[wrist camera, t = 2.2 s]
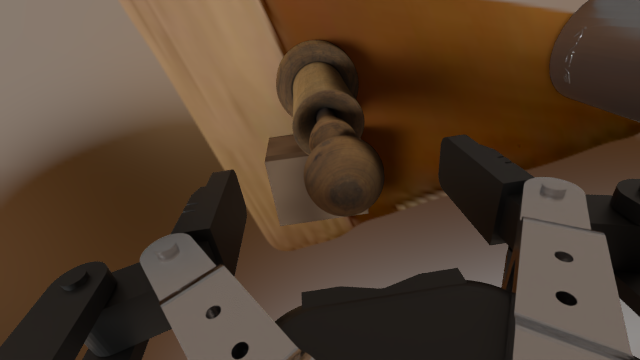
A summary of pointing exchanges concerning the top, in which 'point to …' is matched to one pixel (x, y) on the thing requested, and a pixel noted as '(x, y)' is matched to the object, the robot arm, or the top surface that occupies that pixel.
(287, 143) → the walnut stand
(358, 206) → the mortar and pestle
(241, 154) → the top surface
